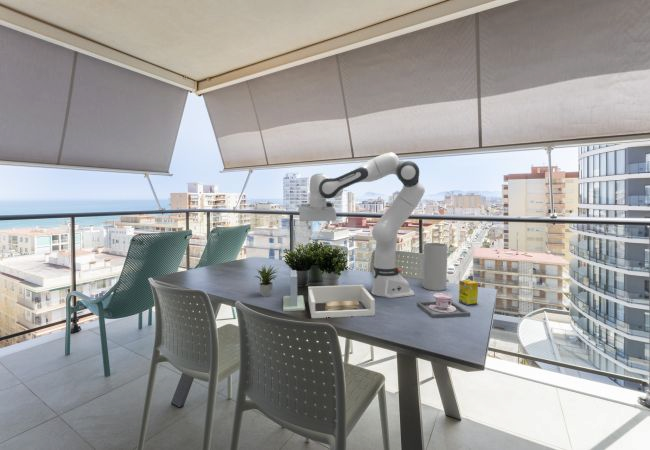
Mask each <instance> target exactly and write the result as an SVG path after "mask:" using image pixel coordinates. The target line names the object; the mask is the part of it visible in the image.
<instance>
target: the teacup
mask: <svg viewBox="0 0 650 450" xmlns="http://www.w3.org/2000/svg"><path fill="white" fill-rule="evenodd" d="M432 296H433V299H435V301H436V305H432V304H431V305H428V308H429V310H432V311H434V312H436V313H437V312H438V313H456V312H457V309H456V308H455V307H454V306H451V304H452V302H454V301H453V299H452V298H453V296H452V295H451V294H448V293H441V292H439V293H433V294H432ZM449 301H451V303H450V305H448V302H449Z"/></svg>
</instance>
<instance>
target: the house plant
mask: <svg viewBox="0 0 650 450" xmlns="http://www.w3.org/2000/svg"><path fill="white" fill-rule="evenodd" d="M274 268H275V266H272V265H270V266H269V267H268V268H266V265H265V264H264V265H263V266H261V268H260V269H261V270H259V269H258V268H256V271H257V273H258V274H259V275H260V276H261V277H260V276H258V275H255V276H254V278H257V279H259V290H260V295H261V296H262V297H270V296H271V295H272V292H273V284H274V283H273V282H272V280H275V278H278V277H277V276H278V275H277V274H276V273H277V270H278V269H280V267H279V268H275V269H274ZM273 274H276V275H273ZM275 281H276V280H275Z"/></svg>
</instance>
